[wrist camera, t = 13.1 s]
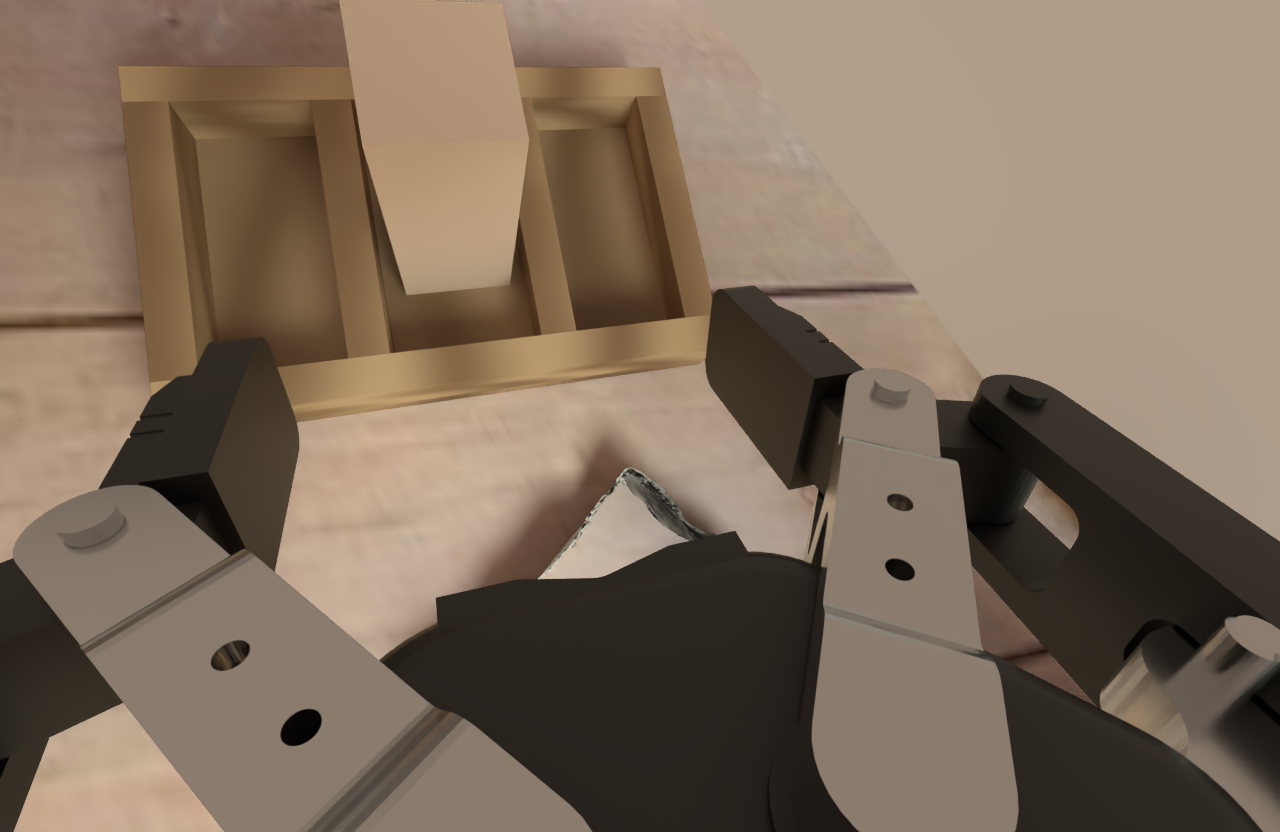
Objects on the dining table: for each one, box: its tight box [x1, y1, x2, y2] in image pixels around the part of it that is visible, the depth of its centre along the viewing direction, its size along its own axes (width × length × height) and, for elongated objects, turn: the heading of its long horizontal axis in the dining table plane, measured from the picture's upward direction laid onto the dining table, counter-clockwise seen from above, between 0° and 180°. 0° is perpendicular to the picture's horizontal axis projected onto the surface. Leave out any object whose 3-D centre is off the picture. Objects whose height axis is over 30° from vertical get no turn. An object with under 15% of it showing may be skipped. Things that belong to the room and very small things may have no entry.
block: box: [339, 0, 529, 295], centre depth 23 cm, size 4×4×11 cm
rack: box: [118, 66, 712, 422], centre depth 27 cm, size 22×14×3 cm, turn 102°
